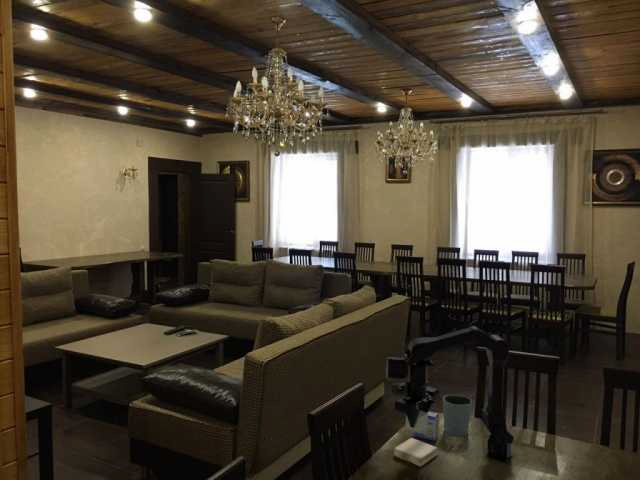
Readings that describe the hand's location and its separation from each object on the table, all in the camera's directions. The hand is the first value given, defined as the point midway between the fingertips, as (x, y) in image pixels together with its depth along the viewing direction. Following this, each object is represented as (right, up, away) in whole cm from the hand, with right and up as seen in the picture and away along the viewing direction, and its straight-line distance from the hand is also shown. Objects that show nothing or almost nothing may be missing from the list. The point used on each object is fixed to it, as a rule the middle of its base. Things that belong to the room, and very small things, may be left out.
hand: (416, 424), depth 174 cm
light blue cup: (+18, -9, +19) cm, 27 cm away
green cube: (0, -1, 0) cm, 1 cm away
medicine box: (+6, -9, +15) cm, 18 cm away
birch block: (0, -11, +1) cm, 11 cm away
